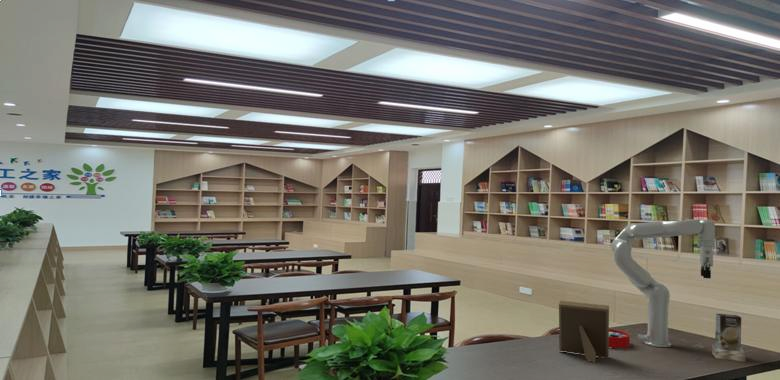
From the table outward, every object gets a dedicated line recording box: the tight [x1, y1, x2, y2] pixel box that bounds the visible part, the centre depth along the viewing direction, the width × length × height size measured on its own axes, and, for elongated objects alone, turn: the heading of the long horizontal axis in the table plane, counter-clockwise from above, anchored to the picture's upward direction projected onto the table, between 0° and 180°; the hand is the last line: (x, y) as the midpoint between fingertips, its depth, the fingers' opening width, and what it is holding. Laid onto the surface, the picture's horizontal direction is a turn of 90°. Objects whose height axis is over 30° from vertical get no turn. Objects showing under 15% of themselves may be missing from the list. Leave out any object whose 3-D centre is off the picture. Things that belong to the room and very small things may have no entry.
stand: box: [711, 344, 747, 363], centre depth 254 cm, size 12×11×4 cm
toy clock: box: [609, 328, 630, 349], centre depth 274 cm, size 20×6×20 cm
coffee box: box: [714, 313, 742, 351], centre depth 254 cm, size 9×6×16 cm
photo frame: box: [558, 300, 610, 363], centre depth 246 cm, size 15×22×25 cm
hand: (705, 277), depth 271 cm, fingers open, 9 cm apart
